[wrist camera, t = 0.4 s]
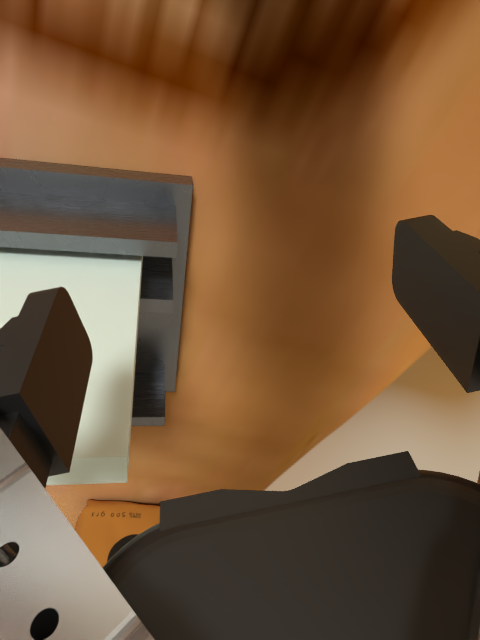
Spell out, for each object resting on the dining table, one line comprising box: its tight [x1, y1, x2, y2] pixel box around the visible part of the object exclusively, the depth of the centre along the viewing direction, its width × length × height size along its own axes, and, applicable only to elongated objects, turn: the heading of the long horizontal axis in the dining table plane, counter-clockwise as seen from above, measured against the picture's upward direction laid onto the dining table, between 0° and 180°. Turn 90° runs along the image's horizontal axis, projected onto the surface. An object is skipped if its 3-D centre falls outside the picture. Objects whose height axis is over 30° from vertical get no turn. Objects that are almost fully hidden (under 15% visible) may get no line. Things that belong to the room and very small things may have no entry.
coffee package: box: [75, 500, 160, 567], centre depth 46 cm, size 10×12×22 cm
